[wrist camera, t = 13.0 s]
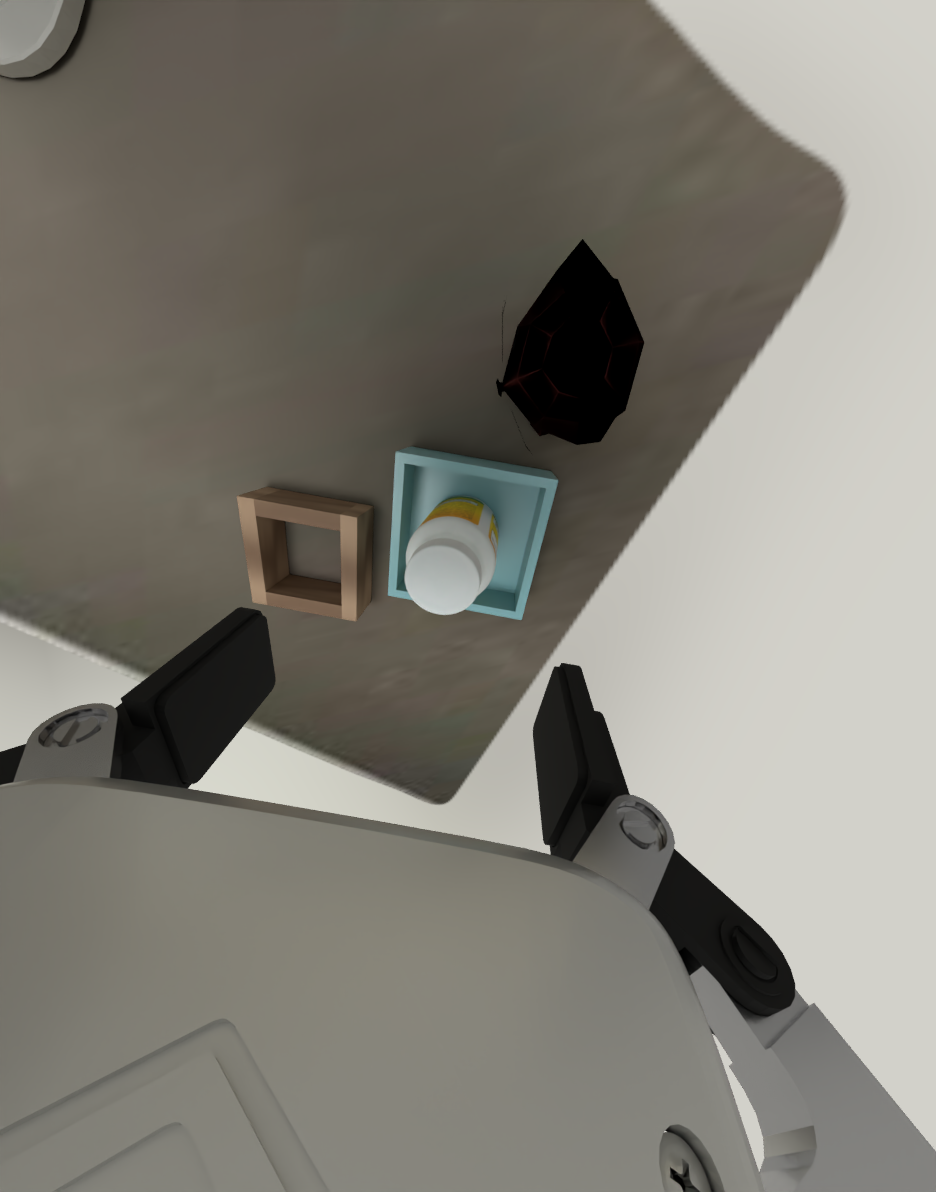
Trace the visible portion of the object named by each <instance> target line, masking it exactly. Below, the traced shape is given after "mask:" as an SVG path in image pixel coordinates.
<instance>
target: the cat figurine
mask: <svg viewBox="0 0 936 1192" xmlns="http://www.w3.org/2000/svg"><path fill="white" fill-rule="evenodd" d="M505 303H506V302H505ZM504 307H505V306H504ZM502 308H503V307H502ZM503 311H504V310H503ZM643 345H644V340H643V338H642V336H641V333H640V331H639V329H638V326H637V324H636V321H635V319H634V317H633V314H632V312H631V310H630V307H629V305H628V302H627V300H626V298H625V295H624V293H623V291H622V288H621V286H620V283H619V281H618V279H614V278H613V277H612V276H611V275H610V273H609V272H608V271H607V270H606V268H605V267H604V266H603V264H602V263H601V262H600V261H599V259H598V258H597V257H596V255H595V254H594V253H593V252H592V250H591V249H590V248H589V246H588V245H587V244H586V243H585V241H584V240H583V239H582V240H581V241H580V243H579V244H578V245H577V246H576V248H575V249H574V250H573V251H572V252H571V254H570V255H569V256H568V257H567V259H566V260H565V261H564V262H563V264H562V265H561V266H560V267H559V268H558V270H557V271H556V272H555V274H554V275H553V277H552V278H551V280H550V281H549V282H548V284H547V285H546V287H545V288H544V289H543V291H542V292H541V294H540V295H539V297H538V298H537V299H536V301H535V302H534V304H533V305H532V307H531V308H530V309H529V311H528V312H527V314H526V315H525V317H524V318H523V319H522V321H521V322H520V324H519V325H518V326H517V330H516V334H515V338H514V341H513V345H512V349H511V353H510V356H509V360H508V364H507V368H506V371H505V375H504V379H503V382H499V380H498V379H497V381H496V384H497V389H498V394H499V396H501V395H502V392H504V391H505V392H506V393H507V395H508V396H509V397H510V398H511V400H512V401H513V402H514V403H515V405H516V406H517V407H518V408H519V409H520V411H521V412H522V413H523V414H524V416H525V417H526V418H527V419H528V421H529V422H530V423H531V424H530V425H531V426H532V427H533V429H534V430H535V431H536V432H537V433H538V435H539V436H541V435H545V434H552V435H554V436H557V437H559V438H561V439H564V440H566V441H569V442H571V443H574V444H576V445H580V444H587V443H594V442H601V440H602V438H603V437H604V435H605V434H606V432H607V430H608V429H609V427H610V425H611V424H612V422H613V421H614V419H615V418H616V417H617V416H618V415H620V414H621V413H623V412H624V411H625V410H626V406H627V403H628V399H629V395H630V392H631V388H632V385H633V381H634V377H635V374H636V370H637V367H638V363H639V360H640V356H641V352H642V349H643ZM502 363H503V314H502ZM512 413H513V412H512ZM513 416H514V415H513ZM514 418H515V417H514ZM515 421H516V420H515ZM516 423H517V422H516ZM517 426H518V425H517ZM518 428H519V427H518ZM520 433H521V432H520ZM522 438H523V437H522ZM524 443H525V442H524ZM525 446H526V445H525ZM527 449H528V448H527ZM529 451H530V450H529ZM531 454H532V453H531Z"/></svg>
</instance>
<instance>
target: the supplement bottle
mask: <svg viewBox="0 0 936 1192" xmlns="http://www.w3.org/2000/svg"><path fill="white" fill-rule="evenodd" d="M498 535H499V529H498V523H497V520H496V517H495V515H494V513H493V512H492V510H491V509H490V508H489V507H488V506H487V505H486V504H485V503H484V502H482V501H481V500H479V499H477V498H474V497H470V496H453V497H449V498H447V499H445V500H443V501H442V502H440V503H439V504H438V505H437V506H436V507H435V508H434V509H433V511H432V512H431V513H430V514H429V515H428V516H427V518H426V519H425V520H424V521H423V523H422V524H421V525H420V526H419V528H418V529H417V530H416V531H415V532H414V534H413V535H412V537H411V539H410V541H409V543H408V546H407V550H406V570H405V585H406V589H407V591H408V593H409V595H410V597H411V598H412V599H413V601H414V602H415V603H416V604H417V605H419V606H420V607H421V608H423V609H425V610H426V611H429V612H431V613H435V614H440V615H450V614H455V613H458V612H460V611H463V610H464V609H466V608H467V607H469V606H470V605H471V604H472V603H473V601H474V600H475V599H476V597H477V596H478V595H479V594H480V593H481V592H483V591H484V590H485V588H486V587H487V586H488V585H489V583H490V581H491V579H492V577H493V574H494V571H495V566H496V557H497V547H498Z"/></svg>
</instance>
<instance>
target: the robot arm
mask: <svg viewBox="0 0 936 1192" xmlns="http://www.w3.org/2000/svg"><path fill="white" fill-rule="evenodd" d="M84 3H85V0H0V75H2V76H6V77H11V78H18V77H32V76H35V75H37V74H39V73H41V72H43V71H45V70H48V69H50V68H51V67H52V66H53V65H54V64H55V63H56V62H57V61H58V60H59V59H60V58H61V57H62V56H63V55H64V54H65V53H66V51H67V49H68V47H69V45H70V43H71V41H72V39H73V38H74V36H75V34H76V32H77V29H78V26H79V22H80V18H81V14H82V11H83V7H84ZM274 685H275V672H274V665H273V658H272V651H271V645H270V638H269V631H268V624H267V619H266V617H265V616H263V615H262V613H261V611H259V610H254V609H248V608H243V607H240V608H237V609H236V610H234V611H233V612H232V613H231V614H229V615H228V616H227V617H225V618H224V619H223V620H222V621H220V622H219V623H218V624H216V625H215V626H214V627H212V628H211V629H210V630H209V631H207V632H206V633H205V634H203V635H202V636H201V637H199V638H198V639H197V640H196V641H194V642H193V643H192V644H190V645H189V646H188V647H187V648H185V649H184V650H183V651H181V652H180V653H179V654H177V655H176V656H175V657H174V658H172V659H171V660H170V661H168V662H167V663H166V664H165V665H163V666H162V667H161V668H159V669H158V670H157V671H155V672H154V673H153V674H152V675H150V676H149V677H148V678H146V679H145V680H144V681H142V682H141V683H140V684H139V685H137V686H136V687H135V688H133V689H132V690H131V691H130V692H128V693H127V694H126V695H125V696H123V697H122V698H121V700H122V703H121V704H120V705H119V706H118V707H116V708H114V707H112V706H111V705H107V704H102V703H101V704H87V705H81V706H77V707H74V708H71V709H68V710H65V711H63V712H61V713H59V714H57V715H55V716H53V717H51V718H49V719H48V720H46V721H45V722H43V723H42V724H41V725H40V726H39V727H37V728H36V729H35V730H34V731H33V732H32V734H31V736H30V737H29V739H28V741H27V744H24V745H21V746H18V747H15V748H12V749H8V750H5V751H2V752H0V1192H936V1151H935V1150H934V1149H933V1148H932V1146H931V1145H930V1144H929V1143H928V1141H927V1140H926V1139H925V1138H924V1137H923V1135H922V1134H921V1133H920V1132H919V1130H918V1129H917V1128H916V1127H915V1126H914V1125H913V1123H912V1122H911V1121H910V1120H909V1118H908V1117H907V1116H906V1115H905V1113H904V1112H903V1111H902V1110H901V1109H900V1107H899V1106H898V1105H897V1104H896V1103H895V1101H894V1100H893V1099H892V1098H891V1096H890V1095H889V1094H888V1093H887V1092H886V1090H885V1089H884V1088H883V1087H882V1085H881V1084H880V1083H879V1082H878V1080H877V1079H876V1078H875V1077H874V1076H873V1075H872V1073H871V1072H870V1071H869V1069H868V1068H867V1067H866V1066H865V1065H864V1063H863V1062H862V1061H861V1060H860V1058H859V1057H858V1056H857V1055H856V1054H855V1052H854V1051H853V1050H852V1049H851V1047H850V1046H849V1045H848V1044H847V1043H846V1041H845V1040H844V1039H843V1038H842V1036H841V1035H840V1034H839V1033H838V1032H837V1030H836V1029H835V1028H834V1027H833V1025H832V1024H831V1023H830V1022H829V1021H828V1019H826V1017H825V1016H824V1014H823V1013H822V1012H821V1011H820V1010H819V1008H818V1007H817V1006H816V1005H815V1004H814V1003H813V1004H811V1005H809V1006H808V1004H807V1003H806V1002H805V1001H804V999H803V998H802V997H801V996H800V995H799V993H798V992H797V991H796V989H795V982H794V979H793V975H792V972H791V969H790V967H789V965H788V963H787V961H786V959H785V957H784V955H783V953H782V952H781V950H780V949H779V948H778V946H777V945H776V943H775V942H774V941H773V939H772V938H771V937H770V936H769V935H768V934H767V933H766V932H765V931H764V929H763V928H762V927H761V926H760V925H759V924H757V923H756V922H755V921H754V920H753V919H752V918H751V917H750V916H749V915H747V914H746V913H745V912H744V911H743V910H742V909H741V908H740V907H739V906H737V905H736V904H735V903H734V902H733V901H732V900H731V899H730V898H729V897H727V896H726V895H725V894H724V893H723V892H722V891H721V890H719V889H718V888H717V887H716V886H715V885H714V884H713V883H712V882H711V881H710V880H708V879H707V878H706V877H705V876H704V875H703V874H702V873H701V872H699V871H698V870H697V869H696V868H695V867H694V866H693V865H692V864H690V863H689V862H688V861H687V860H686V859H685V858H684V857H683V856H682V855H681V854H680V853H678V852H677V851H676V850H675V849H674V844H675V841H674V836H673V832H672V830H671V828H670V826H669V823H668V822H667V821H666V819H665V818H664V816H663V815H662V814H661V812H660V811H658V810H657V809H656V808H655V807H654V806H653V805H652V804H650V803H649V802H647V801H646V800H644V799H642V798H640V797H636V796H634V795H630V794H629V791H628V788H627V785H626V782H625V779H624V776H623V773H622V770H621V767H620V764H619V761H618V758H617V755H616V752H615V749H614V746H613V743H612V740H611V737H610V734H609V731H608V728H607V725H606V722H605V718H604V716H603V714H602V713H600V712H598V711H594V708H593V705H592V702H591V699H590V695H589V692H588V689H587V686H586V682H585V679H584V676H583V672H582V669H581V667H580V666H577V665H571V664H565V663H561V665H560V667H554V669H553V671H552V674H551V677H550V680H549V683H548V686H547V688H546V691H545V694H544V697H543V700H542V703H541V706H540V709H539V712H538V715H537V717H536V720H535V723H534V727H533V739H534V751H535V760H536V771H537V781H538V791H539V802H540V812H541V821H542V832H543V841H544V843H545V845H550V851H551V855H549V854H545V853H541V852H537V851H533V850H529V849H525V848H520V847H515V846H510V845H505V844H500V843H495V842H490V841H485V840H480V839H475V838H469V837H464V836H458V835H453V834H447V833H442V832H436V831H430V830H425V829H419V828H414V827H408V826H402V825H397V824H391V823H385V822H380V821H374V820H368V819H363V818H357V817H351V816H345V815H339V814H334V813H328V812H322V811H316V810H310V809H305V808H299V807H293V806H287V805H282V804H275V803H270V802H264V801H258V800H252V799H246V798H240V797H234V796H228V795H222V794H216V793H210V792H204V791H198V790H192V789H188V787H189V786H190V785H191V784H194V783H197V782H198V781H199V780H200V779H201V778H202V777H203V775H204V774H205V773H206V772H207V770H208V769H209V768H210V767H211V765H212V764H213V763H214V762H215V761H216V759H217V758H218V757H219V756H220V754H221V753H222V752H223V751H224V749H225V748H226V747H227V746H228V744H229V743H230V742H231V741H232V739H233V738H234V737H235V736H236V734H237V733H238V732H239V731H240V729H241V728H242V727H243V726H244V724H245V723H246V722H247V721H248V719H249V718H250V717H251V716H252V714H253V713H254V712H255V711H256V709H257V708H258V707H259V706H260V704H261V703H262V702H263V701H264V699H265V698H266V697H267V696H268V694H269V693H270V692H271V691H272V689H273V687H274ZM712 1034H714V1035H715V1036H716V1037H717V1039H718V1040H719V1042H720V1043H721V1045H722V1047H723V1048H724V1050H725V1051H726V1053H727V1054H728V1056H729V1057H730V1059H731V1061H732V1062H733V1063H732V1064H731V1065H730V1066H729V1067H730V1068H731V1070H732V1072H733V1073H734V1075H735V1076H736V1078H737V1080H738V1081H739V1083H740V1084H741V1086H742V1088H743V1089H744V1091H745V1093H746V1095H747V1097H748V1098H749V1101H750V1103H751V1105H752V1106H753V1108H754V1110H755V1112H756V1115H757V1118H758V1122H759V1125H760V1128H761V1131H762V1135H763V1141H764V1161H763V1164H762V1166H761V1169H760V1172H759V1171H758V1168H757V1165H756V1162H755V1159H754V1156H753V1153H752V1150H751V1147H750V1144H749V1141H748V1138H747V1135H746V1132H745V1129H744V1126H743V1123H742V1120H741V1117H740V1114H739V1111H738V1108H737V1105H736V1102H735V1099H734V1095H733V1092H732V1090H731V1087H730V1083H729V1081H728V1077H727V1074H726V1072H725V1069H724V1066H723V1063H722V1060H721V1057H720V1054H719V1052H718V1049H717V1046H716V1044H715V1041H714V1038H713V1035H712ZM664 1131H667V1132H665V1133H663V1132H664Z"/></svg>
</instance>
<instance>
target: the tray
mask: <svg viewBox="0 0 936 1192" xmlns="http://www.w3.org/2000/svg"><path fill="white" fill-rule="evenodd" d="M557 484H558V479H557V478H556V477H555V475H554V474H553V473H552V471H548V470H542V469H537V468H531V467H525V466H520V465H514V464H508V463H503V462H497V461H491V460H486V459H480V458H474V457H469V456H463V455H457V454H452V453H446V452H440V451H435V450H429V449H423V448H418V447H412V446H411V447H408V448H405V449H402V450H399V451H396V455H395V473H394V492H393V510H392V529H391V548H390V566H389V585H388V596H394V597H399V598H405V599H410V600H413V599H412V598H411V597H410V595H409V593H408V591H407V589H406V585H405V570H406V550H407V546H408V543H409V541H410V539H411V537H412V535H413V534H414V532H415V531H416V530H417V529H418V528H419V526H420V525H421V524H422V523H423V521H424V520H425V519H426V518H427V516H428V515H429V514H430V513H431V512H432V511H433V509H434V508H435V507H436V506H437V505H438V504H439V503H440V502H442V501H443V500H445V499H447V498H449V497H453V496H470V497H474V498H477V499H479V500H481V501H482V502H484V503H485V504H486V505H487V506H488V507H489V508H490V509H491V510H492V512H493V513H494V515H495V517H496V520H497V523H498V529H499V535H498V547H497V557H496V566H495V571H494V574H493V577H492V579H491V581H490V583H489V585H488V586H487V587H486V588H485V590H484V591H483V592H481V593H480V594H479V595H478V596H477V597H476V599H475V600H474V601H473V603H472V604H471V605H470V606H469V607H467V608H466V609H464V610H470V611H475V612H481V613H486V614H492V615H497V616H503V617H508V618H513V619H519V620H522V616H523V612H524V609H525V605H526V601H527V597H528V594H529V590H530V586H531V582H532V578H533V575H534V571H535V567H536V563H537V560H538V556H539V552H540V548H541V544H542V541H543V537H544V533H545V529H546V526H547V522H548V518H549V514H550V510H551V507H552V503H553V499H554V495H555V492H556V488H557Z"/></svg>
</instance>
